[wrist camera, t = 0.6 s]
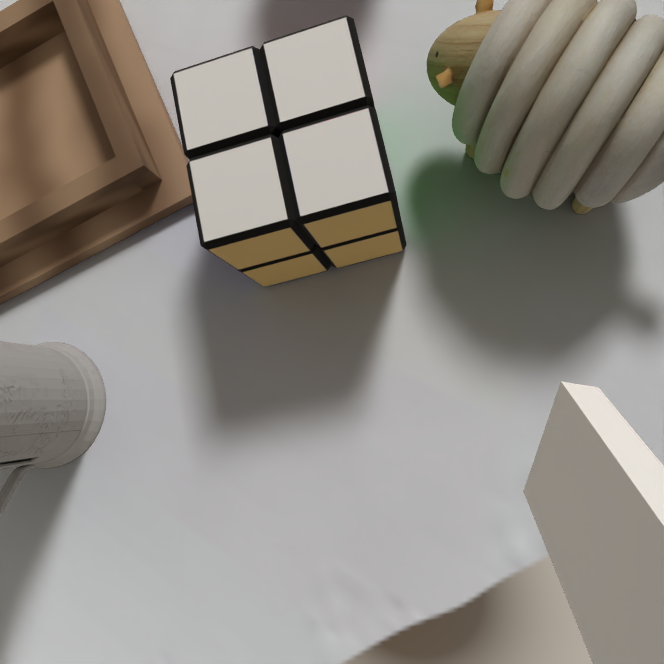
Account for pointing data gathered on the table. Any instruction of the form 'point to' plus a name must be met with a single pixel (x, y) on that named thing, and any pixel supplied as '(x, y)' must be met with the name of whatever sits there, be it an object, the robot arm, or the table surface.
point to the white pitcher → (46, 407)
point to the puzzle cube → (288, 156)
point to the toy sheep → (558, 98)
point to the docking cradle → (78, 139)
